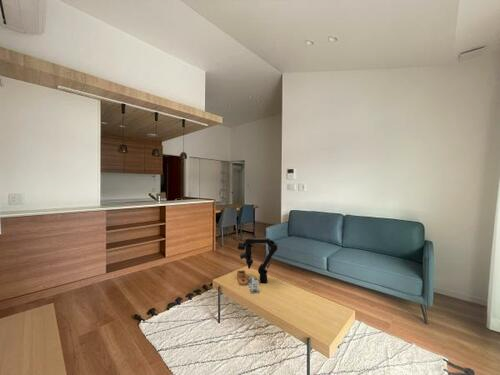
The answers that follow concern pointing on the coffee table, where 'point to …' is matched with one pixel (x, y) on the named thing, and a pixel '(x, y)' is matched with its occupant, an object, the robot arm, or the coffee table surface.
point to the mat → (254, 291)
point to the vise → (250, 281)
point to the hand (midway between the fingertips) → (248, 266)
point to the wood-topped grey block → (254, 283)
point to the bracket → (242, 278)
